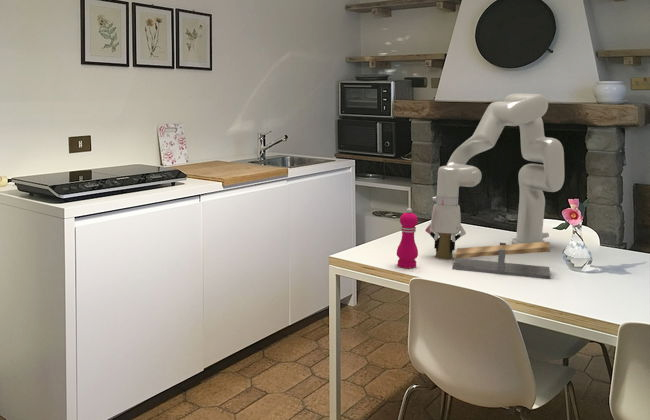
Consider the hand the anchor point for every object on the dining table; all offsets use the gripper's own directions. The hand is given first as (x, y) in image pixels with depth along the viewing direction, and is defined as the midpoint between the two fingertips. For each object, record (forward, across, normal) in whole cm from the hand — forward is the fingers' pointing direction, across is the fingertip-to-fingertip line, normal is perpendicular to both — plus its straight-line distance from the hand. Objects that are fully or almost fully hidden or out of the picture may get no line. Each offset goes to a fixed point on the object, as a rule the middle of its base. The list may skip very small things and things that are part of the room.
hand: (444, 250), depth 221 cm
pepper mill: (+3, -11, -16) cm, 19 cm away
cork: (+3, 0, 0) cm, 3 cm away
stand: (+2, +20, -9) cm, 22 cm away
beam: (-4, +20, -9) cm, 22 cm away
